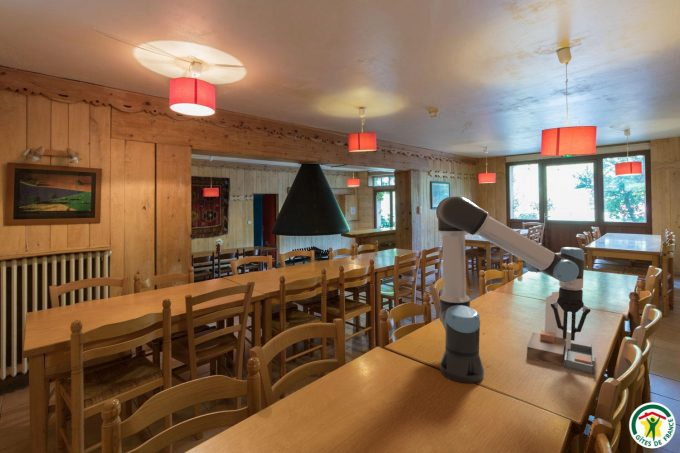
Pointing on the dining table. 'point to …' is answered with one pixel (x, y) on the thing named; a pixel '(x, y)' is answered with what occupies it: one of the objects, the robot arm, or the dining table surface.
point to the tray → (581, 350)
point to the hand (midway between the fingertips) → (568, 347)
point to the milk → (553, 316)
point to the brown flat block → (546, 349)
